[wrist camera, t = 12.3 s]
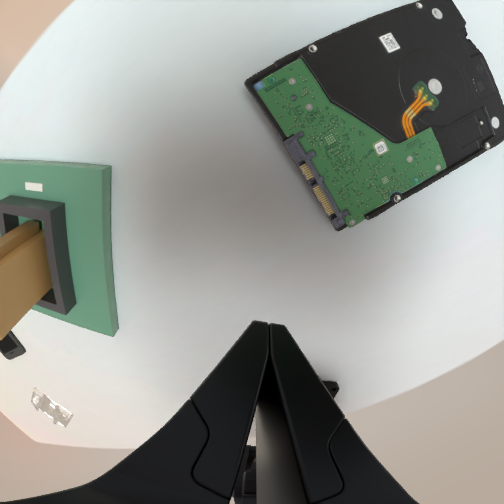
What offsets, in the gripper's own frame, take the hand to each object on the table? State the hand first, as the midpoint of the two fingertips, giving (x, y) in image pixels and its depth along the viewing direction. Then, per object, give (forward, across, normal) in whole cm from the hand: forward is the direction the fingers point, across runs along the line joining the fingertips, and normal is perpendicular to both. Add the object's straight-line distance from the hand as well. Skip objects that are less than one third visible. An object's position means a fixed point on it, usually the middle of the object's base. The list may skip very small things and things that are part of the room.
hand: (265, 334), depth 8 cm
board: (+12, +18, +6) cm, 22 cm away
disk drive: (+13, -6, -8) cm, 16 cm away
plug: (+11, +17, +6) cm, 21 cm away
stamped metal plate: (+13, +27, +36) cm, 47 cm away
